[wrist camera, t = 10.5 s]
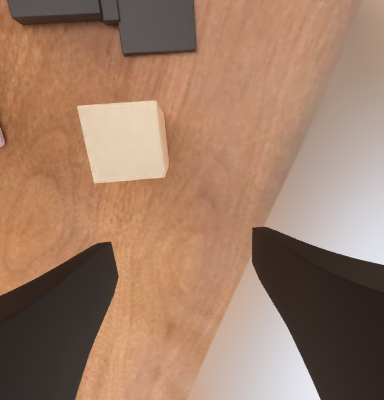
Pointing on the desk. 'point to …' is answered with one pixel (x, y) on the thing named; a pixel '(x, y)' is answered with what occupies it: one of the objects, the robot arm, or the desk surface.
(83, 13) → the spatula
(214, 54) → the desk surface
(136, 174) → the cream block
